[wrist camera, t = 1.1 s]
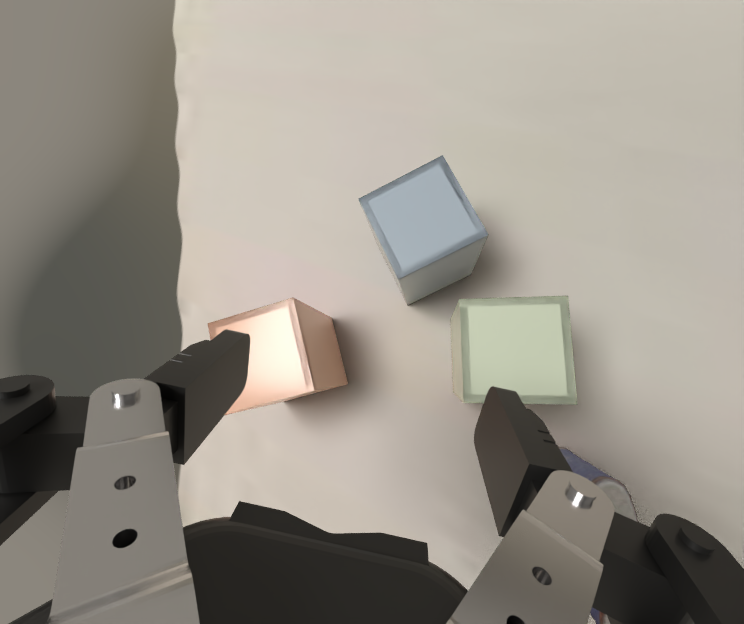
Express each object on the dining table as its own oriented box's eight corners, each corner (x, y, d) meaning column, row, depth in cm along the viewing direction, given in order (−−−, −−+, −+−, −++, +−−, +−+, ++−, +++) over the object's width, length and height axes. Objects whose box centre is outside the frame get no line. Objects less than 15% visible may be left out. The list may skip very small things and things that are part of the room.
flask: (540, 445, 30) (601, 487, 19) (578, 445, 29) (662, 489, 19) (552, 568, 28) (624, 685, 18) (592, 570, 28) (690, 691, 18)
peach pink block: (331, 317, 34) (292, 297, 25) (348, 384, 33) (314, 390, 23) (269, 336, 35) (207, 323, 25) (283, 401, 34) (224, 415, 24)
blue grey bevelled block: (438, 216, 34) (442, 155, 24) (470, 274, 33) (488, 234, 23) (378, 246, 35) (358, 198, 25) (407, 305, 33) (398, 279, 24)
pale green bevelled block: (525, 318, 32) (568, 295, 22) (530, 393, 31) (577, 404, 21) (450, 319, 33) (459, 298, 23) (452, 392, 32) (463, 403, 22)
